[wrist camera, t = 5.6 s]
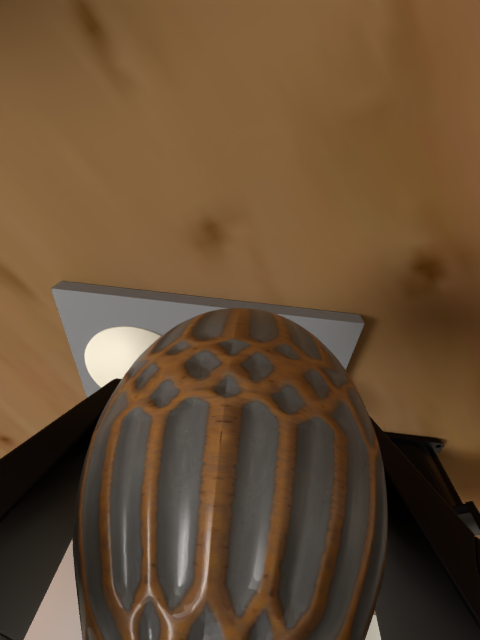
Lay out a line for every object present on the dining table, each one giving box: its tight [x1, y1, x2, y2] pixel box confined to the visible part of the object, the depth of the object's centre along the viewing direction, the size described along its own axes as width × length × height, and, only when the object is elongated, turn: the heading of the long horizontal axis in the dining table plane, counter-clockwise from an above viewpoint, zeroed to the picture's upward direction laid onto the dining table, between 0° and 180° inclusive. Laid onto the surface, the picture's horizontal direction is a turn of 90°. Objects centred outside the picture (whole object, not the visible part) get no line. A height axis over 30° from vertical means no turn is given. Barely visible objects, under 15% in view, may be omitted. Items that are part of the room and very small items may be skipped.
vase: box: [73, 308, 388, 640], centre depth 7 cm, size 7×7×9 cm
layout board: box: [51, 281, 364, 397], centre depth 21 cm, size 22×14×7 cm, turn 85°
